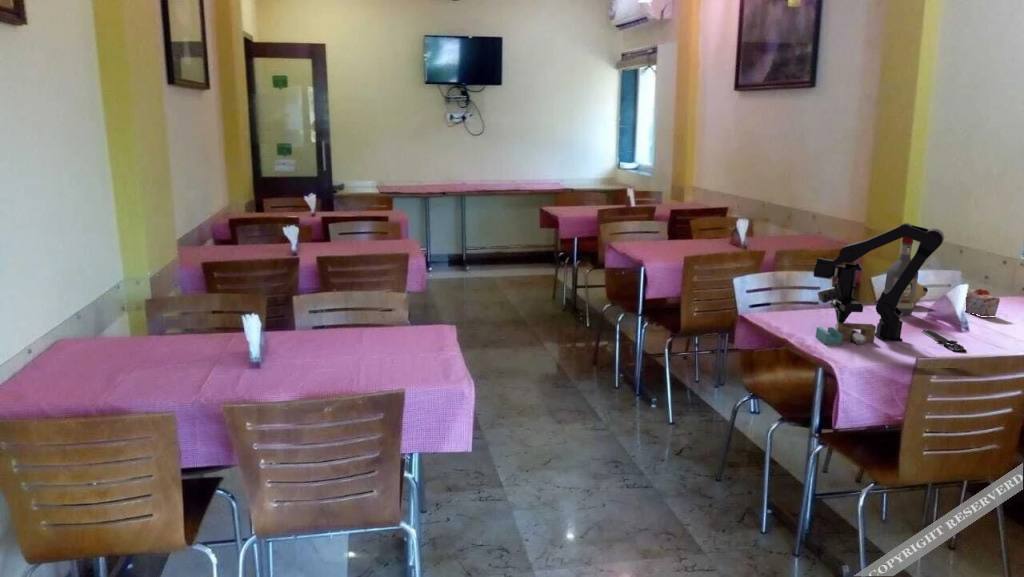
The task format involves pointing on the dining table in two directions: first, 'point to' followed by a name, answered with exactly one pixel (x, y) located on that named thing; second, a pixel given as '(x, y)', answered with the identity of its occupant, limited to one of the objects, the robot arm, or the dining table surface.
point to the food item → (981, 303)
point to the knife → (942, 341)
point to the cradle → (829, 336)
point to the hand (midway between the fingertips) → (839, 325)
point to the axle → (855, 336)
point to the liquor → (895, 273)
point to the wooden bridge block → (866, 329)
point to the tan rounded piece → (919, 293)
